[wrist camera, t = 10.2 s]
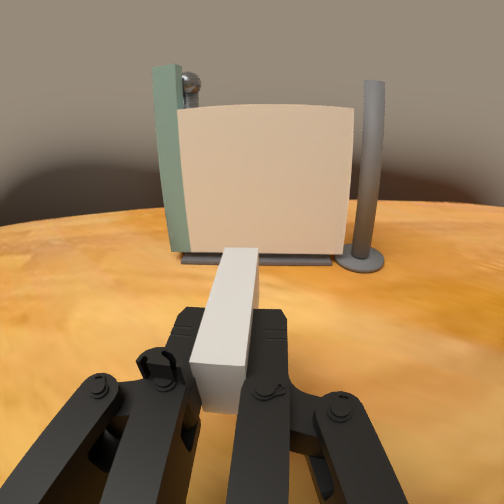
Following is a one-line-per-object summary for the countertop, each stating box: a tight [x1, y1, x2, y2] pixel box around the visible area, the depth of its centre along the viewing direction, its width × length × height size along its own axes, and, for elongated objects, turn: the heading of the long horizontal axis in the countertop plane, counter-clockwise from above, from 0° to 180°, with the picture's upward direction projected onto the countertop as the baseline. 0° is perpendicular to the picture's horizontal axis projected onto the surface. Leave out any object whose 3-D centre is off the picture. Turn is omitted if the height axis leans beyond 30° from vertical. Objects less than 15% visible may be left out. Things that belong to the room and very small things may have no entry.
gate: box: [152, 64, 385, 258], centre depth 23 cm, size 19×2×17 cm, turn 86°
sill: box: [181, 244, 384, 273], centre depth 28 cm, size 20×5×1 cm, turn 86°
